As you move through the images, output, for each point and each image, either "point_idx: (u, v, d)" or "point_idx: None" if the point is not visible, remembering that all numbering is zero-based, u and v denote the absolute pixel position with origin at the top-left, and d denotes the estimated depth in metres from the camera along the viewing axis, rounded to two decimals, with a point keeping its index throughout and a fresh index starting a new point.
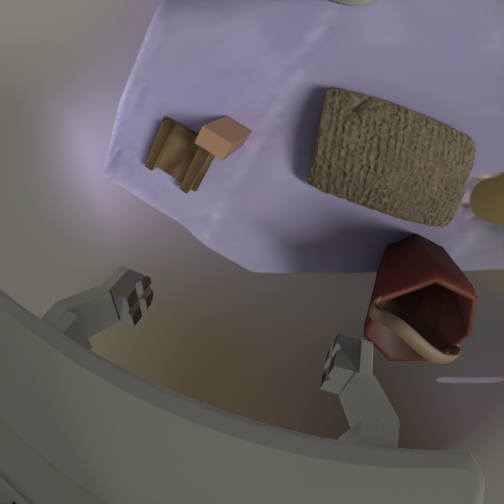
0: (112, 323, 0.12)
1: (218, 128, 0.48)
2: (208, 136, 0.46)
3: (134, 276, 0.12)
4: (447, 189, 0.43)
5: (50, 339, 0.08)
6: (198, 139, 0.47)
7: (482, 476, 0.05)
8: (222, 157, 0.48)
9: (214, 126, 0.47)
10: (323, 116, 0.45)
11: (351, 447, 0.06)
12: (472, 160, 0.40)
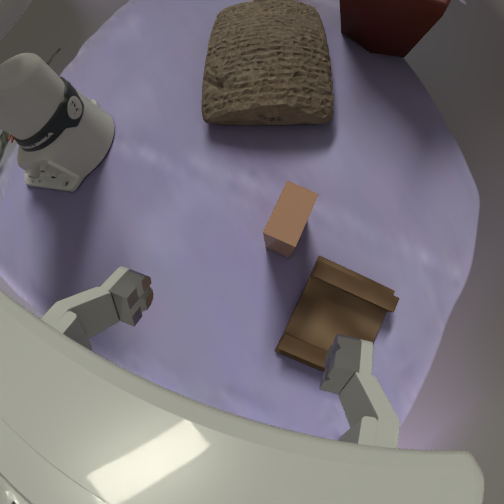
0: (112, 323, 0.12)
1: None
2: (280, 221, 0.29)
3: (134, 276, 0.12)
4: (273, 6, 0.39)
5: (50, 339, 0.08)
6: (288, 239, 0.29)
7: (482, 476, 0.05)
8: (312, 195, 0.30)
9: None
10: (235, 108, 0.38)
11: (351, 447, 0.06)
12: (238, 4, 0.42)
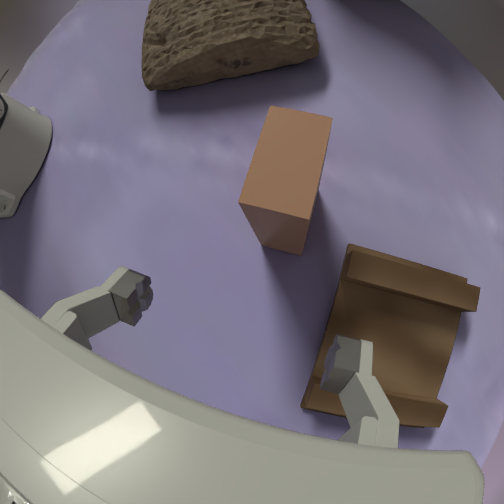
0: (112, 323, 0.12)
1: None
2: (270, 174, 0.14)
3: (134, 276, 0.12)
4: None
5: (50, 339, 0.08)
6: (292, 206, 0.14)
7: (482, 476, 0.05)
8: (322, 120, 0.14)
9: None
10: (182, 58, 0.24)
11: (351, 447, 0.06)
12: None
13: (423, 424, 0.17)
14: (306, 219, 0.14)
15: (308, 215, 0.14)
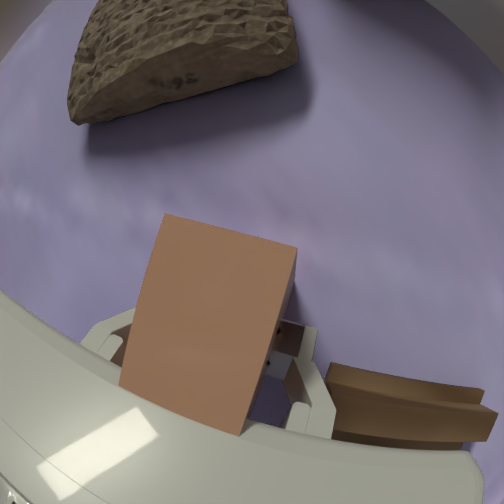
0: None
1: None
2: (157, 381, 0.07)
3: None
4: None
5: (50, 339, 0.08)
6: None
7: (482, 476, 0.05)
8: (272, 256, 0.07)
9: None
10: (104, 82, 0.17)
11: (351, 447, 0.06)
12: None
13: None
14: None
15: None
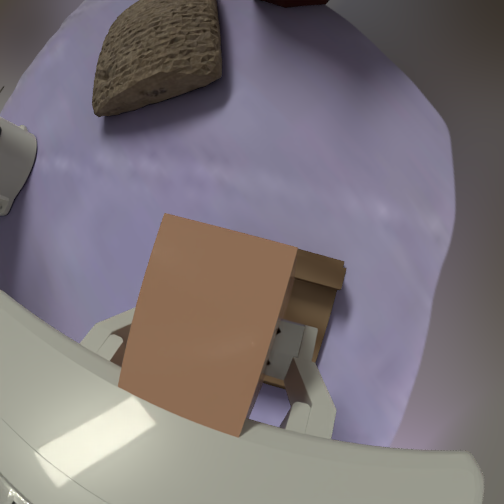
0: None
1: None
2: (157, 382, 0.07)
3: None
4: None
5: (50, 339, 0.08)
6: None
7: (482, 476, 0.05)
8: (272, 256, 0.07)
9: None
10: (115, 93, 0.32)
11: (351, 447, 0.06)
12: None
13: None
14: None
15: None
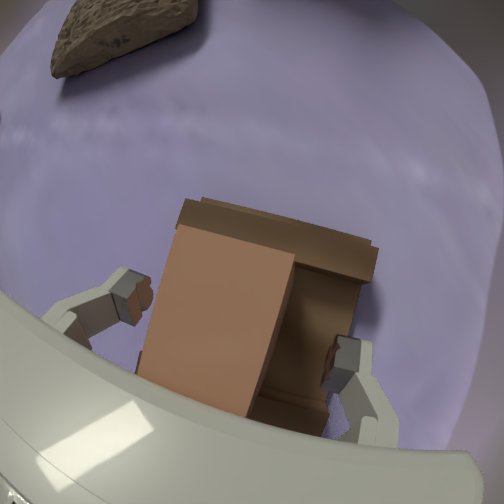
0: (112, 323, 0.12)
1: None
2: (172, 372, 0.08)
3: (134, 276, 0.12)
4: None
5: (50, 339, 0.08)
6: None
7: (482, 476, 0.05)
8: (273, 262, 0.08)
9: None
10: (72, 46, 0.22)
11: (351, 447, 0.06)
12: None
13: None
14: None
15: None
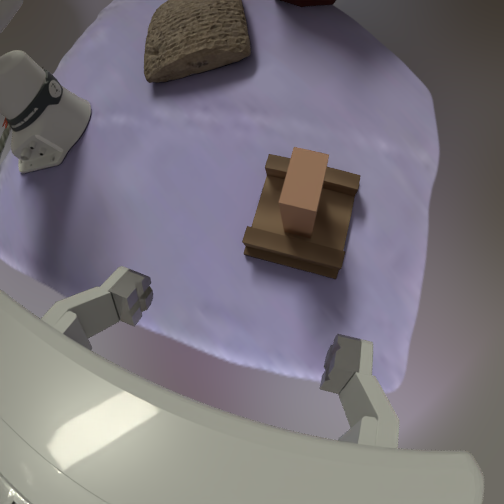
0: (112, 323, 0.12)
1: None
2: (295, 187, 0.27)
3: (134, 276, 0.12)
4: None
5: (50, 339, 0.08)
6: (307, 204, 0.26)
7: (482, 476, 0.05)
8: (323, 156, 0.27)
9: None
10: (167, 62, 0.41)
11: (351, 447, 0.06)
12: None
13: (326, 262, 0.33)
14: (314, 211, 0.26)
15: (315, 209, 0.26)
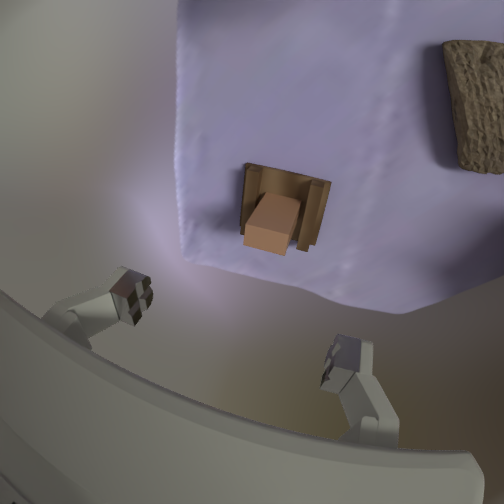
0: (112, 323, 0.12)
1: (264, 218, 0.42)
2: (257, 234, 0.40)
3: (134, 276, 0.12)
4: None
5: (50, 339, 0.08)
6: (246, 240, 0.41)
7: (482, 476, 0.05)
8: (282, 252, 0.41)
9: (259, 217, 0.42)
10: (457, 77, 0.25)
11: (351, 447, 0.06)
12: None
13: (242, 225, 0.51)
14: None
15: (244, 244, 0.42)
